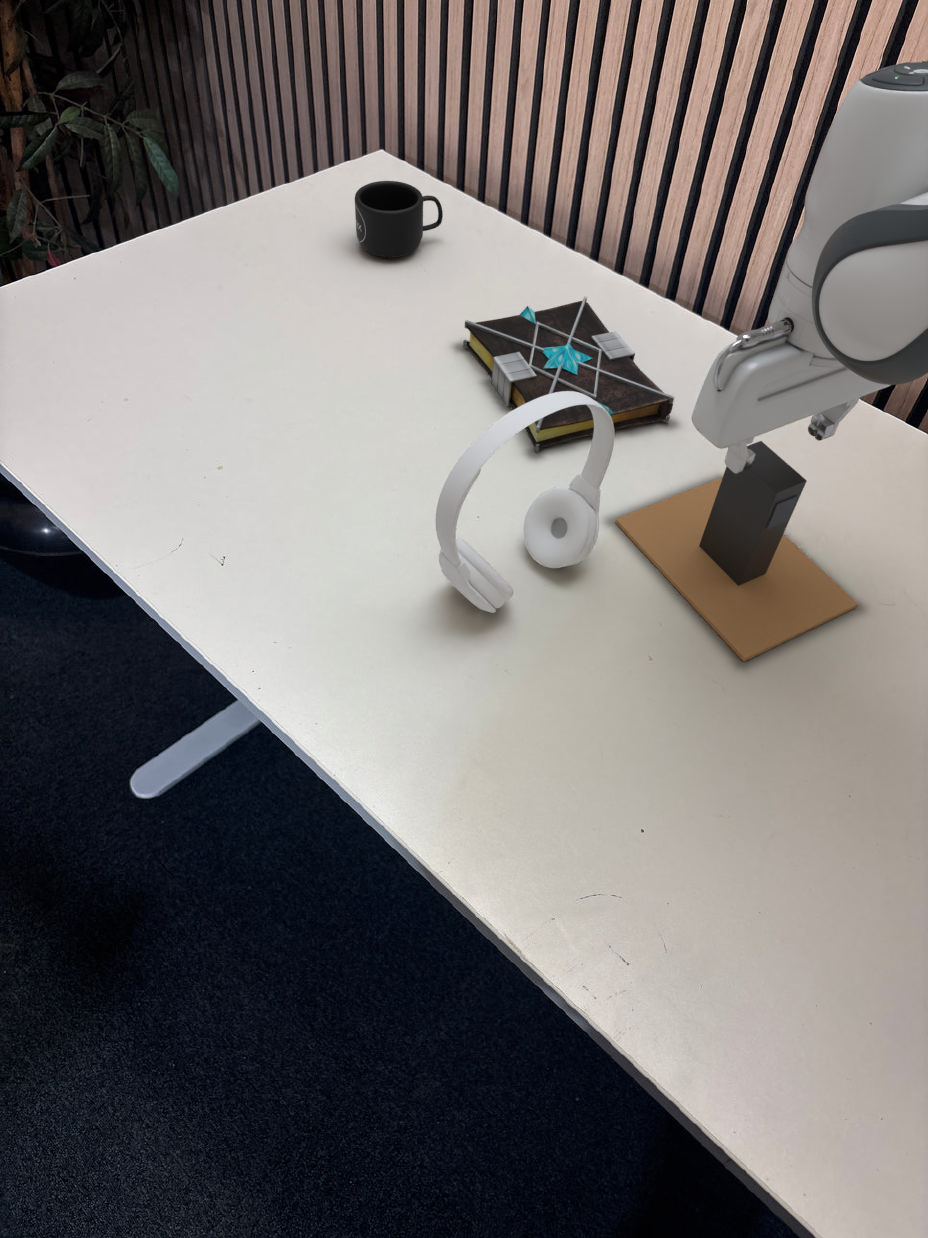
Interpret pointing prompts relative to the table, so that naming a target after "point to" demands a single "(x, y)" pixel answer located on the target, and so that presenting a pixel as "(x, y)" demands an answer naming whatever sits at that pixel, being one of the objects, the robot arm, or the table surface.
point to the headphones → (554, 520)
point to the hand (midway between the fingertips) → (778, 450)
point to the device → (751, 515)
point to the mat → (736, 613)
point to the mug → (391, 218)
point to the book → (566, 369)
